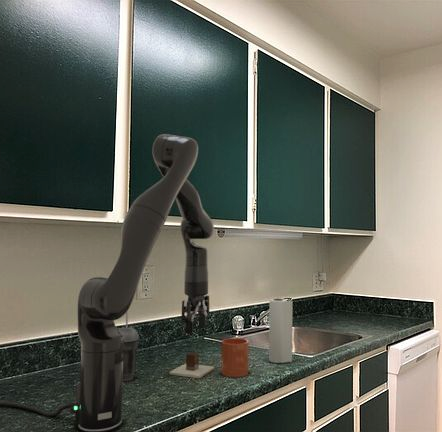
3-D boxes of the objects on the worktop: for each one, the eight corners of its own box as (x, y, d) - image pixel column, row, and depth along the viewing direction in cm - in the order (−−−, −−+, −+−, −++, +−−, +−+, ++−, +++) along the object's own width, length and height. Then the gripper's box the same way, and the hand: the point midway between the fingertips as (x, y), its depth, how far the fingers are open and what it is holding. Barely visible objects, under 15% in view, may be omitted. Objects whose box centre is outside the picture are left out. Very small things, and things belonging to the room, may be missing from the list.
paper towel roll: (265, 360, 158) (266, 299, 159) (278, 357, 161) (278, 297, 162) (278, 365, 152) (279, 301, 153) (292, 362, 156) (292, 300, 157)
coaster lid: (169, 374, 140) (169, 355, 141) (185, 365, 150) (186, 348, 151) (199, 378, 137) (199, 359, 137) (214, 369, 147) (214, 351, 147)
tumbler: (216, 375, 140) (217, 342, 141) (227, 367, 148) (228, 337, 149) (242, 378, 137) (242, 345, 138) (252, 370, 145) (252, 339, 146)
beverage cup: (115, 384, 131) (117, 314, 132) (111, 377, 137) (113, 310, 138) (140, 380, 134) (142, 312, 135) (135, 374, 140) (137, 309, 141)
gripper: (196, 277, 152) (196, 325, 151) (174, 281, 138) (173, 334, 138) (216, 278, 149) (216, 327, 149) (196, 282, 136) (195, 336, 135)
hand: (195, 330), depth 143 cm, fingers open, 8 cm apart
